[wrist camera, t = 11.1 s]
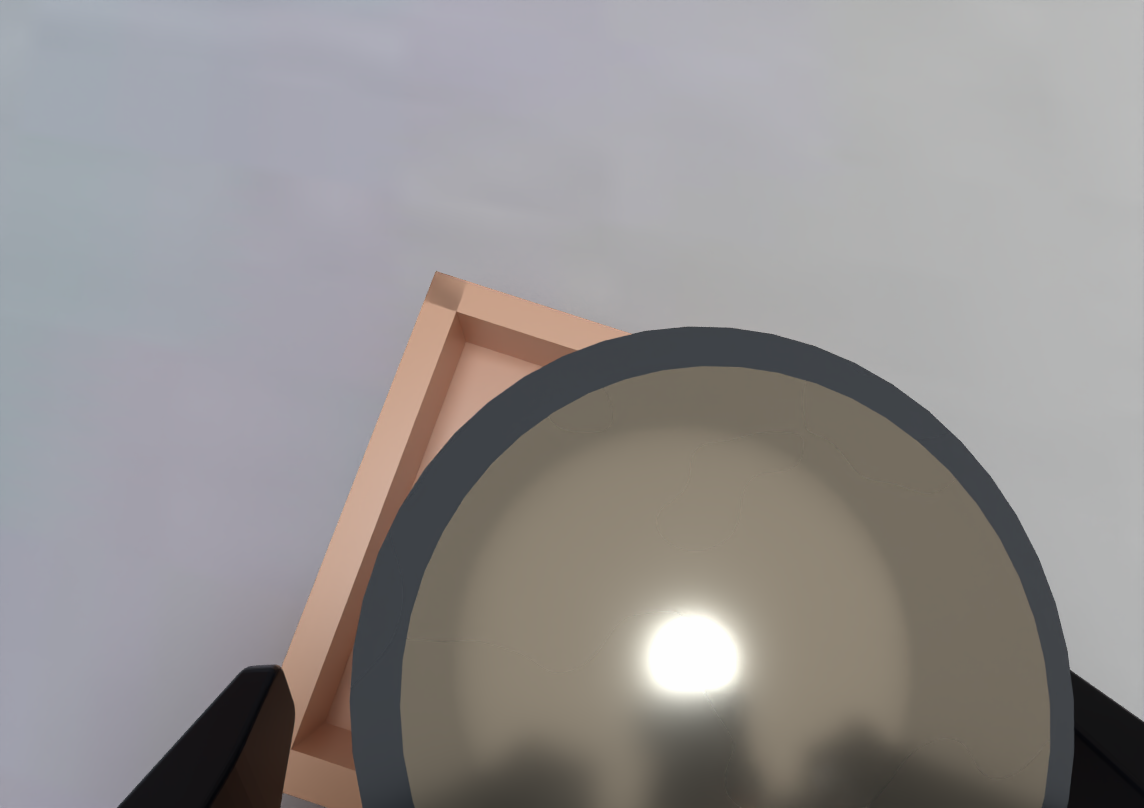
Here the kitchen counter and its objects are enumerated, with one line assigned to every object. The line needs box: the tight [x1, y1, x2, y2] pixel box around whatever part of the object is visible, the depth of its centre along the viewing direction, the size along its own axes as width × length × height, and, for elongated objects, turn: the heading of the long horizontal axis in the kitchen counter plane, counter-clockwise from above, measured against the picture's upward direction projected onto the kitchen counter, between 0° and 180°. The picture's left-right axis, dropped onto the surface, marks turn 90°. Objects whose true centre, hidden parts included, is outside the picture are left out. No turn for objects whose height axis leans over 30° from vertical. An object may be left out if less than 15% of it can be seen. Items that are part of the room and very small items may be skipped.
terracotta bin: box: [281, 271, 631, 808], centre depth 17 cm, size 12×12×3 cm
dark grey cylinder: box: [350, 327, 1074, 808], centre depth 11 cm, size 5×5×13 cm
